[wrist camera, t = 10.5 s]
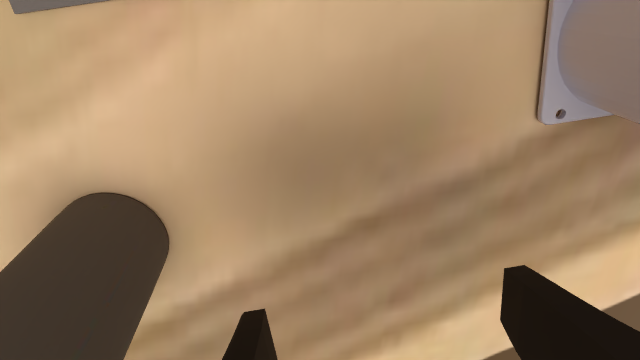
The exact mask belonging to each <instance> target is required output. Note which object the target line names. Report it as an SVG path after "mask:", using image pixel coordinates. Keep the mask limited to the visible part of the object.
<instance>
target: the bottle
mask: <svg viewBox="0 0 640 360" xmlns="http://www.w3.org/2000/svg"><path fill="white" fill-rule="evenodd" d="M168 249H169V241H168V236H167V232H166V229H165V227H164V225H163V224H162V222H161V221H160V219H159V218H158V217H157V215H156V214H155V213H154V212H153V211H151V210H150V209H149V208H147V207H146V206H145V205H144V204H142V203H140V202H138V201H136V200H134V199H131V198H129V197H126V196H122V195H118V194H109V193H99V194H92V195H88V196H84V197H82V198H79V199H78V200H76V201H74V202H73V203H71V204H70V205H68V206H67V207H66V208H65V209H64V210H63V211H62V212H61V213H60V214H59V215H58V216H56V217H55V218H54V219H53V220H52V221H51V222H50V223H49V224H48V225H47V226H46V227H45V228H44V229H43V230H42V231H41V232H40V233H39V234H38V235H37V236H36V237H35V238H34V239H33V240H32V241H31V242H30V243H29V244H28V245H27V246H26V247H25V248H24V249H23V250H22V251H21V252H20V253H19V254H18V255H17V256H16V257H15V258H14V259H13V260H12V261H11V262H10V263H9V264H8V265H7V266H6V267H5V268H4V269H3V270H2V271H1V272H0V360H123V359H124V357H125V355H126V352H127V350H128V348H129V345H130V343H131V341H132V339H133V336H134V334H135V332H136V329H137V327H138V325H139V322H140V320H141V318H142V315H143V313H144V311H145V308H146V306H147V304H148V301H149V299H150V297H151V294H152V292H153V290H154V287H155V285H156V283H157V280H158V278H159V275H160V273H161V270H162V268H163V266H164V263H165V261H166V258H167V254H168Z"/></svg>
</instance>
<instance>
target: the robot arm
mask: <svg viewBox="0 0 640 360" xmlns="http://www.w3.org/2000/svg"><path fill="white" fill-rule="evenodd" d="M560 109H561V113H560V115H559V116H557V117H556V113H557V111H558V110H560ZM610 115H618V116H620V117H623V118H625V119H628V120H631V121H633V122H636V123H638V124H640V0H549V10H548V19H547V29H546V38H545V48H544V58H543V67H542V77H541V86H540V96H539V105H538V120H539V121H540V122H542V123H544V124H545V125H552V124H558V123H565V122H571V121H578V120H584V119H590V118H597V117H603V116H610ZM500 320H501V323H502V325H503V327H504V329H505V331H506V333H507V335H508V337H509V339H510V341H511V342H512V344H513V346H514V348H515V350H516V352H517V353H518V355H519V356H520V358H521V360H640V332H639V331H637V330H635V329H633V328H632V327H629V326H628V325H626V324H624V323H622V322H620V321H618V320H616V319H615V318H613V317H611V316H609V315H607V314H606V313H604V312H602V311H600V310H599V309H597V308H595V307H593V306H592V305H590V304H588V303H587V302H585V301H583V300H582V299H580V298H578V297H577V296H575V295H573V294H572V293H570V292H568V291H567V290H565V289H563V288H562V287H560V286H558V285H557V284H555V283H553V282H552V281H550V280H549V279H547V278H545V277H544V276H542V275H540V274H539V273H537V272H535V271H534V270H532V269H530V268H528V267H527V266H525V265H522V266H516V267H510V268H504V279H503V291H502V304H501V317H500ZM222 360H277V355H276V351H275V347H274V343H273V339H272V335H271V331H270V327H269V323H268V319H267V315H266V311H265V309H260V310H254V311H248V312H244V313H243V314H242V316H241V318H240V320H239V323H238V325H237V328H236V330H235V333H234V335H233V337H232V339H231V342H230V344H229V346H228V348H227V350H226V352H225V354H224V356H223V358H222Z"/></svg>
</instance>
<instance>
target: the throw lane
mask: <svg viewBox="0 0 640 360" xmlns="http://www.w3.org/2000/svg"><path fill="white" fill-rule="evenodd" d="M102 1H108V0H9V2H10V4H11V6H12V9H13V11H14V13H15V14H20V13H27V12H34V11H40V10H47V9H54V8H61V7H68V6H74V5H81V4H88V3H95V2H102Z"/></svg>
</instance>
